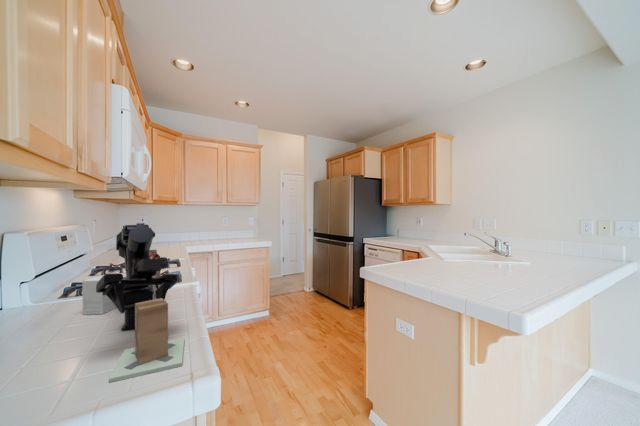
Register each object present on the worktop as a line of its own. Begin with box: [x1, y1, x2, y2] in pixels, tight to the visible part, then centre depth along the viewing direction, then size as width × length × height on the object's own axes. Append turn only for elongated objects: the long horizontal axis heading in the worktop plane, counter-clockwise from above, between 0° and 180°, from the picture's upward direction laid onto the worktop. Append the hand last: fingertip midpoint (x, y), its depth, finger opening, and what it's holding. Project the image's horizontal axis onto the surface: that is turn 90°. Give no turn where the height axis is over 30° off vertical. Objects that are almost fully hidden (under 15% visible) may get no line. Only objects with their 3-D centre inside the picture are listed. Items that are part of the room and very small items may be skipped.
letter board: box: [108, 337, 185, 383], centre depth 65 cm, size 14×14×1 cm
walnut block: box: [134, 298, 169, 365], centre depth 65 cm, size 6×6×13 cm
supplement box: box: [81, 275, 117, 316], centre depth 99 cm, size 7×7×13 cm
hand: (142, 311), depth 70 cm, fingers open, 9 cm apart
